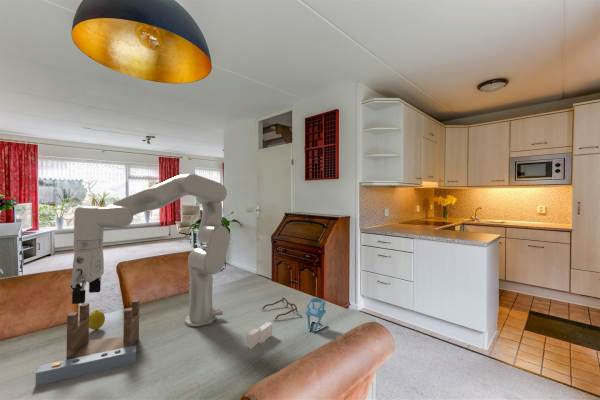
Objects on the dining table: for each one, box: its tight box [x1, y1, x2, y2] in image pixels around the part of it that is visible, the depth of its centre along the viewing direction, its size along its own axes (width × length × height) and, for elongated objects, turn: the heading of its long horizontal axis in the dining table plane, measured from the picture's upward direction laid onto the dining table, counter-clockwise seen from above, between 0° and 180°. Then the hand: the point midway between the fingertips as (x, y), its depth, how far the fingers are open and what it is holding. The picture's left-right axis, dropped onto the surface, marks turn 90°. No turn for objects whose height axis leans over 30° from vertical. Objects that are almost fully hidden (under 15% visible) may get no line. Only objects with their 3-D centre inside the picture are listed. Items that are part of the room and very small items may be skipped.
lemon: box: [89, 309, 106, 331], centre depth 106 cm, size 6×6×8 cm
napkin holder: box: [245, 321, 273, 349], centre depth 102 cm, size 15×11×6 cm
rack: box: [65, 299, 140, 360], centre depth 93 cm, size 18×10×15 cm, turn 106°
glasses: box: [262, 297, 299, 320], centre depth 127 cm, size 13×13×5 cm
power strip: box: [35, 344, 137, 386], centre depth 83 cm, size 24×4×4 cm, turn 118°
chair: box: [305, 297, 327, 332], centre depth 113 cm, size 8×8×12 cm
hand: (87, 297), depth 87 cm, fingers open, 9 cm apart
